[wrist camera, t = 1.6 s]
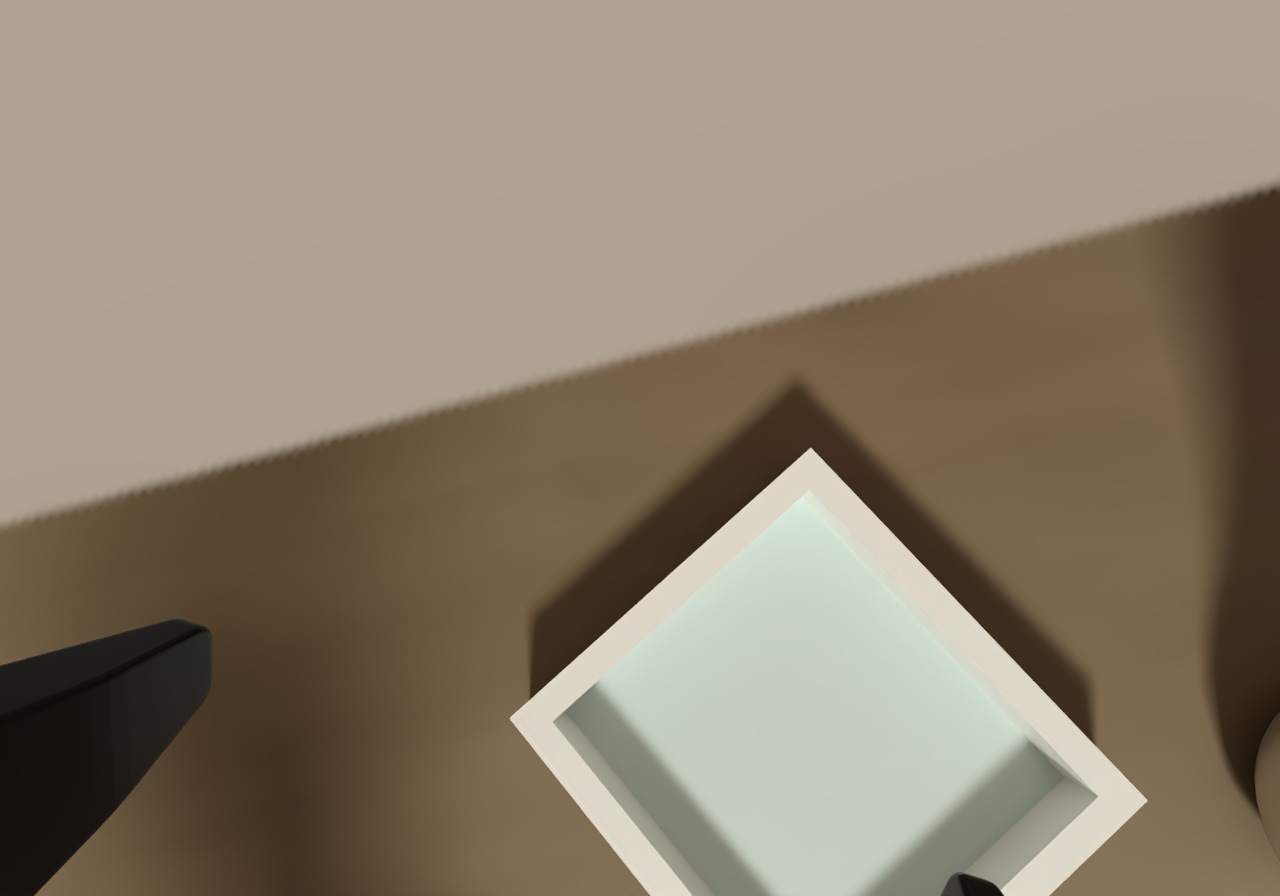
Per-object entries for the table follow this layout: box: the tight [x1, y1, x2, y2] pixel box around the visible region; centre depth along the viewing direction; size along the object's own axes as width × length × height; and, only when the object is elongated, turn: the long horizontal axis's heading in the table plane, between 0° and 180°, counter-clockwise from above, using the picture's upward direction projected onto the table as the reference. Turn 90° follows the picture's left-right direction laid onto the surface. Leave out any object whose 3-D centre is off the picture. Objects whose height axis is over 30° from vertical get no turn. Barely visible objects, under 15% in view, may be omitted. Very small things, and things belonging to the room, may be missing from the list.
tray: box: [509, 448, 1147, 896], centre depth 20 cm, size 12×11×2 cm
